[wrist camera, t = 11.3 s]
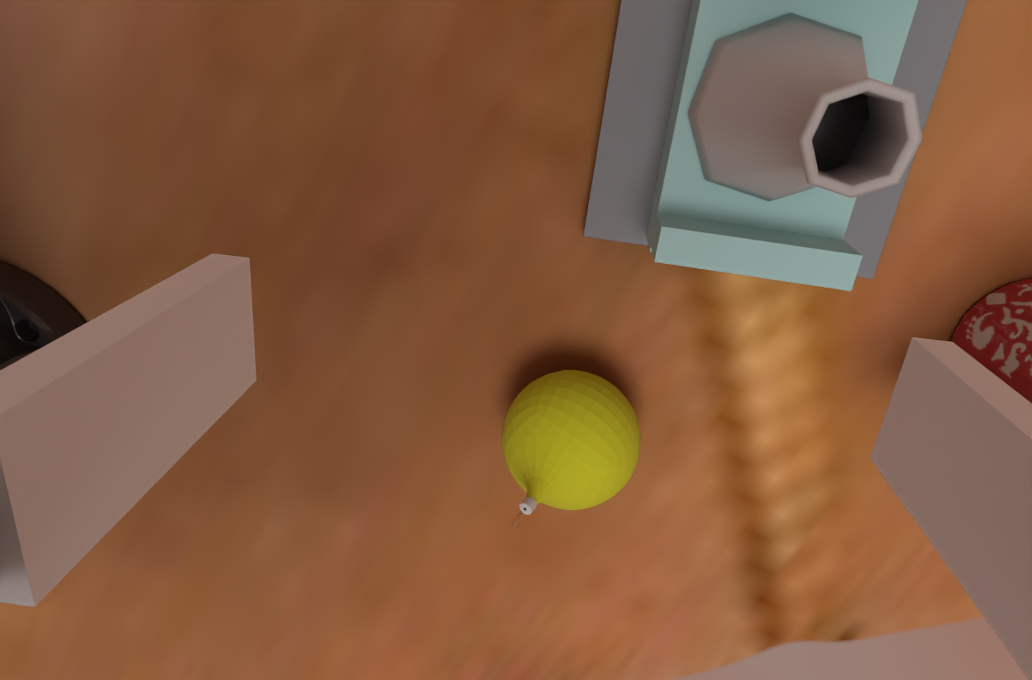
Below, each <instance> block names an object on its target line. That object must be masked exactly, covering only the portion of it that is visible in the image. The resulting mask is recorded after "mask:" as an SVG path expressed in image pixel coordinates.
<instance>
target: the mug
mask: <svg viewBox="0 0 1032 680" xmlns="http://www.w3.org/2000/svg"><path fill="white" fill-rule="evenodd" d="M951 342H953V343H955V344H956V345H957V346H958V347H960V348H961V349H962V350H964V351H965V352H966V353H967V354H969V355H970V356H971V357H973V358H974V359H975V360H976V361H978V362H979V363H980V364H982V365H983V366H984V367H985V368H987V369H988V370H989V371H991V372H992V373H993V374H994V375H996V376H997V377H998V378H1000V379H1001V380H1002V381H1003V382H1005V383H1006V384H1007V385H1009V386H1010V387H1011V388H1012V389H1014V390H1015V391H1016V392H1018V393H1019V394H1020V395H1021V396H1023V397H1024V398H1025V399H1027V400H1028V401H1029V402H1030V403H1032V279H1025V280H1021V281H1018V282H1014V283H1011V284H1009V285H1006V286H1004V287H1002V288H999V289H998V290H996V291H994V292H992V293H990V294H989V295H987V296H986V297H984V298H983V299H982V300H980V301H979V302H978V303H977V304H975V305H974V306H973V307H972V308H971V309H970V310H969V311H968V312H967V313H966V315H965V316H964V317H963V319H962V320H961V322H960V323H959V325H958V326H957V328H956V329H955V331H954V334H953V337H952V339H951Z"/></svg>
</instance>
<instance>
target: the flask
mask: <svg viewBox="0 0 1032 680" xmlns="http://www.w3.org/2000/svg"><path fill="white" fill-rule="evenodd" d="M688 116H689V120H690V124H691V127H692V131H693V135H694V139H695V143H696V147H697V151H698V155H699V159H700V162H701V166H702V170H703V174H704V178H705V180H706V181H709V182H712V183H715V184H718V185H721V186H724V187H727V188H730V189H733V190H736V191H739V192H742V193H745V194H748V195H751V196H754V197H757V198H760V199H763V200H766V201H773V200H776V199H779V198H782V197H786V196H789V195H792V194H795V193H798V192H802V191H805V190H808V189H811V188H815V187H819V188H822V189H825V190H828V191H831V192H834V193H837V194H840V195H843V196H846V197H849V198H853V197H857V196H860V195H863V194H867V193H870V192H873V191H877V190H880V189H883V188H886V187H890V186H893V185H896V184H899V182H900V180H901V178H902V176H903V175H904V173H905V171H906V169H907V167H908V165H909V163H910V161H911V160H912V158H913V156H914V154H915V152H916V150H917V148H918V147H919V145H920V143H921V141H922V134H921V127H920V120H919V114H918V107H917V100H916V93H914V92H911V91H908V90H905V89H902V88H899V87H896V86H893V85H890V84H887V83H884V82H881V81H878V80H875V79H872V78H869V77H868V71H867V65H866V59H865V53H864V47H863V41H862V36H859V35H856V34H853V33H850V32H847V31H844V30H841V29H838V28H835V27H832V26H829V25H826V24H823V23H820V22H817V21H814V20H811V19H808V18H806V17H803V16H800V15H797V14H794V13H789V14H786V15H783V16H781V17H778V18H775V19H773V20H770V21H767V22H764V23H762V24H759V25H756V26H754V27H751V28H748V29H746V30H743V31H740V32H737V33H735V34H732V35H729V36H727V37H724V38H721V39H718V40H716V42H715V45H714V47H713V50H712V53H711V55H710V58H709V60H708V63H707V65H706V68H705V70H704V73H703V76H702V78H701V81H700V83H699V86H698V88H697V91H696V93H695V96H694V99H693V101H692V104H691V106H690V109H689V111H688Z"/></svg>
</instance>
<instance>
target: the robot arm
mask: <svg viewBox="0 0 1032 680" xmlns="http://www.w3.org/2000/svg"><path fill="white" fill-rule="evenodd" d="M255 381H256V364H255V346H254V329H253V311H252V293H251V275H250V258H247V257H238V256H230V255H222V254H213V253H212V254H210V255H209V256H207V257H205V258H203V259H201V260H199V261H198V262H196V263H194V264H192V265H190V266H189V267H187V268H185V269H183V270H181V271H180V272H178V273H176V274H174V275H172V276H171V277H169V278H167V279H165V280H163V281H161V282H160V283H158V284H156V285H154V286H152V287H151V288H149V289H147V290H145V291H143V292H142V293H140V294H138V295H136V296H134V297H133V298H131V299H129V300H127V301H125V302H123V303H122V304H120V305H118V306H116V307H114V308H113V309H111V310H109V311H107V312H105V313H104V314H102V315H100V316H98V317H96V318H95V319H93V320H91V321H89V322H87V323H85V322H84V321H83V320H82V319H81V317H80V316H79V315H78V314H77V313H76V312H75V311H74V310H73V309H72V308H71V307H70V306H69V305H68V304H67V303H66V302H65V301H64V300H63V299H62V298H61V297H60V296H59V295H57V294H56V293H55V292H54V291H52V290H51V289H50V288H49V287H47V286H46V285H44V284H43V283H42V282H40V281H39V280H37V279H35V278H34V277H32V276H30V275H29V274H27V273H25V272H23V271H21V270H19V269H17V268H15V267H13V266H10V265H8V264H5V263H3V262H0V602H3V603H10V604H17V605H24V606H31V607H35V606H36V605H37V604H38V603H39V602H40V601H41V600H42V599H43V598H44V597H45V596H46V595H47V594H48V593H49V592H50V591H51V590H52V589H53V588H54V587H55V586H56V585H57V584H58V583H59V582H60V581H61V580H62V579H63V578H64V576H65V575H66V574H67V573H68V572H69V571H70V570H71V569H72V568H73V567H74V566H75V565H76V564H77V563H78V562H79V561H80V560H81V559H82V558H83V557H84V556H85V555H86V554H87V553H88V552H89V551H90V550H91V549H92V548H93V547H94V546H95V545H96V544H97V543H98V542H99V541H100V540H101V539H102V538H103V537H104V536H105V535H106V534H107V533H108V532H109V530H110V529H111V528H112V527H113V526H114V525H115V524H116V523H117V522H118V521H119V520H120V519H121V518H122V517H123V516H124V515H125V514H126V513H127V512H128V511H129V510H130V509H131V508H132V507H133V506H134V505H135V504H136V503H137V502H138V501H139V500H140V499H141V498H142V497H143V496H144V495H145V494H146V493H147V492H148V491H149V490H150V489H151V488H152V487H153V486H154V484H155V483H156V482H157V481H158V480H159V479H160V478H161V477H162V476H163V475H164V474H165V473H166V472H167V471H168V470H169V469H170V468H171V467H172V466H173V465H174V464H175V463H176V462H177V461H178V460H179V459H180V458H181V457H182V456H183V455H184V454H185V453H186V452H187V451H188V450H189V449H190V448H191V447H192V446H193V445H194V444H195V443H196V442H197V441H198V440H199V439H200V437H201V436H202V435H203V434H204V433H205V432H206V431H207V430H208V429H209V428H210V427H211V426H212V425H213V424H214V423H215V422H216V421H217V420H218V419H219V418H220V417H221V416H222V415H223V414H224V413H225V412H226V411H227V410H228V409H229V408H230V407H231V406H232V405H233V404H234V403H235V402H236V401H237V400H238V399H239V398H240V397H241V396H242V395H243V394H244V393H245V391H246V390H247V389H248V388H249V387H250V386H251V385H252V384H253V383H254V382H255ZM870 459H871V460H872V462H873V463H874V464H875V466H876V467H877V469H878V470H879V471H880V473H881V474H882V475H883V477H884V478H885V480H886V481H887V482H888V484H889V485H890V487H891V488H892V489H893V491H894V492H895V494H896V495H897V496H898V498H899V499H900V501H901V502H902V503H903V505H904V506H905V508H906V509H907V510H908V512H909V513H910V515H911V516H912V517H913V519H914V520H915V522H916V523H917V524H918V526H919V527H920V529H921V530H922V531H923V533H924V534H925V536H926V537H927V538H928V540H929V541H930V543H931V544H932V545H933V547H934V548H935V550H936V551H937V552H938V554H939V555H940V557H941V558H942V559H943V561H944V562H945V564H946V565H947V566H948V568H949V569H950V571H951V572H952V573H953V575H954V576H955V578H956V579H957V580H958V582H959V583H960V584H961V586H962V587H963V589H964V590H965V591H966V593H967V594H968V596H969V597H970V598H971V600H972V601H973V603H974V604H975V605H976V607H977V608H978V610H979V611H980V612H981V614H982V615H983V617H984V618H985V619H986V621H987V622H988V624H989V625H990V626H991V628H992V629H993V631H994V632H995V633H996V635H997V636H998V637H999V639H1000V640H1001V642H1002V643H1003V645H1004V646H1005V647H1006V649H1007V650H1008V652H1009V653H1010V654H1011V656H1012V657H1013V659H1014V660H1015V661H1016V663H1017V664H1018V666H1019V667H1020V668H1021V670H1022V671H1023V673H1024V674H1025V675H1026V677H1027V678H1028V679H1029V680H1032V403H1030V402H1029V401H1028V400H1027V399H1025V398H1024V397H1023V396H1021V395H1020V394H1019V393H1018V392H1016V391H1015V390H1014V389H1012V388H1011V387H1010V386H1009V385H1007V384H1006V383H1005V382H1003V381H1002V380H1001V379H1000V378H998V377H997V376H996V375H994V374H993V373H992V372H991V371H989V370H988V369H987V368H985V367H984V366H983V365H982V364H980V363H979V362H978V361H976V360H975V359H974V358H973V357H971V356H970V355H969V354H967V353H966V352H965V351H964V350H962V349H961V348H960V347H958V346H957V345H956V344H955V343H953V342H949V341H941V340H932V339H924V338H916V337H912V340H911V342H910V345H909V348H908V351H907V354H906V357H905V360H904V362H903V365H902V368H901V371H900V374H899V377H898V380H897V382H896V385H895V388H894V391H893V394H892V397H891V400H890V402H889V405H888V408H887V411H886V414H885V417H884V420H883V422H882V425H881V428H880V431H879V434H878V437H877V440H876V442H875V445H874V448H873V451H872V454H871V457H870Z"/></svg>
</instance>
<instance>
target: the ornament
mask: <svg viewBox="0 0 1032 680" xmlns="http://www.w3.org/2000/svg"><path fill="white" fill-rule="evenodd" d="M640 436H641V434H640V429H639V424H638V419H637V416H636V414H635V411H634V409H633V407H632V406H631V404H630V403H629V401H628V400H627V398H626V397H625V396H624V395H623V394H622V393H621V392H620V390H619V389H618V388H616V387H615V386H614V385H612V384H611V383H610V382H609V381H607V380H605V379H603V378H601V377H599V376H597V375H594V374H591V373H588V372H584V371H578V370H562V371H558V372H554V373H549V374H547V375H545V376H543V377H540V378H538V379H537V380H535V381H533V382H531V383H530V384H529V385H528V386H526V387H525V388H524V389H523V390H522V391H521V392H520V393H519V394H518V395H517V397H516V398H515V400H514V401H513V403H512V404H511V406H510V408H509V410H508V412H507V415H506V418H505V421H504V425H503V433H502V446H503V453H504V458H505V461H506V465H507V467H508V469H509V471H510V473H511V474H512V476H513V477H514V479H515V480H516V482H517V483H518V484H519V485H520V486H521V488H522V489H523V490H524V491H525V492H526V493H527V496H526V498H525V500H524V501H523V502H522V503H521V504H520V510H521V511H522V513H524V514H527V515H529V514H530V513H532V511H533V510H534V509H535V508H536V506H537V504H539V503H540V502H541V503H543V504H546V505H549V506H552V507H555V508H560V509H565V510H579V509H585V508H590V507H593V506H596V505H598V504H600V503H603V502H604V501H606V500H608V499H610V498H611V497H613V496H614V495H615V494H616V493H617V492H619V491H620V490H621V489H622V488H623V487H624V486H625V484H626V483H627V481H628V480H629V478H630V477H631V475H632V474H633V472H634V470H635V467H636V464H637V461H638V457H639V454H640ZM522 513H521V514H522ZM521 514H520V515H521ZM518 515H519V514H518ZM519 517H520V516H519ZM515 519H516V518H515ZM515 519H514V520H515ZM512 523H513V522H512ZM518 525H519V523H518ZM512 527H513V526H512ZM517 528H518V527H517Z"/></svg>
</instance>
